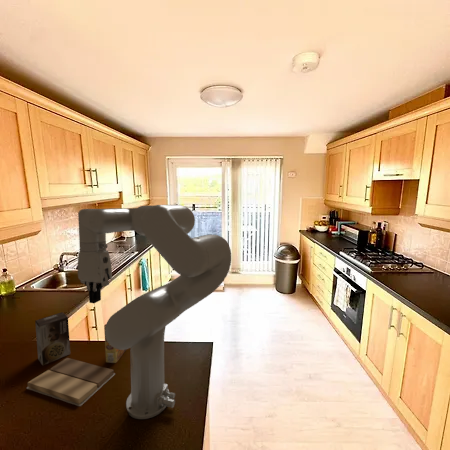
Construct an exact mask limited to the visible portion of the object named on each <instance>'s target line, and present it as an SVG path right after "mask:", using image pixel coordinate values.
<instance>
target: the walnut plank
mask: <svg viewBox="0 0 450 450" xmlns="http://www.w3.org/2000/svg"><path fill="white" fill-rule="evenodd" d="M49 370H50V371H53V372H57V373H60V374H64V375H67V376H71V377H74V378H77V379H81V380H84V381H88V382H91V383H94V384H97V387H98V388H99V387H100V386H101V385H102V384H103V383H104V382H106V381H107V380H108V379H109V378H110V377H111V376H112V375H113V374H114V373H115V372H114V371H115V370H114V369H112V368H107V367H104V366H100V365H96V364H92V363H88V362H85V361H81V360H78V359H74V358H69V357H66V358H64V359H63V360H61V361H60V362H58V363H56V364H55V365H53V366H52V367H51V368H49ZM109 380H110V379H109ZM109 380H108V381H109ZM108 381H107V382H108ZM107 382H106V383H107Z"/></svg>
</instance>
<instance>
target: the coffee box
mask: <svg viewBox="0 0 450 450" xmlns="http://www.w3.org/2000/svg"><path fill="white" fill-rule="evenodd" d="M34 321H35V322H34V323H35V333H36V336H35V337H36V348H37V360H38V361H39V362H40V364H41V365H42V366H46V365H48V364H49V363H53V362H55V361H57V360H60V359H61V358H65V357H67V356H69V355H71V344H70V341H71V340H70V328H69V316H67V315H66V314H65V313H64V312H59V313H55V314H52V315H49V316H46V317H45V316H44V317H42V318H39V319H36V320H34Z"/></svg>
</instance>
